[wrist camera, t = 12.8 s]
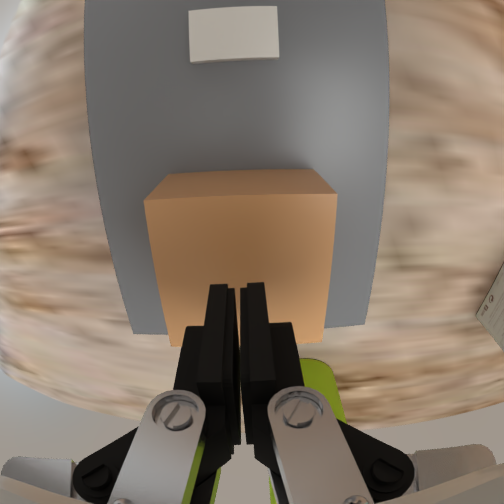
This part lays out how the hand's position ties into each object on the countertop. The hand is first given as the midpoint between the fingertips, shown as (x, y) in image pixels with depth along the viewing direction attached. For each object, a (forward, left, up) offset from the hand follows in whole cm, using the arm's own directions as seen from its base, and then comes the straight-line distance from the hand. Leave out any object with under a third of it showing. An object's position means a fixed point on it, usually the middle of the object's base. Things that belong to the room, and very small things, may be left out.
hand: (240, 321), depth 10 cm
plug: (0, 0, -9) cm, 9 cm away
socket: (-4, 0, -9) cm, 10 cm away
